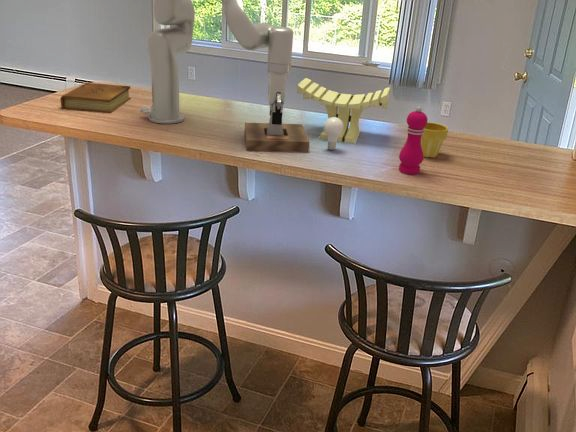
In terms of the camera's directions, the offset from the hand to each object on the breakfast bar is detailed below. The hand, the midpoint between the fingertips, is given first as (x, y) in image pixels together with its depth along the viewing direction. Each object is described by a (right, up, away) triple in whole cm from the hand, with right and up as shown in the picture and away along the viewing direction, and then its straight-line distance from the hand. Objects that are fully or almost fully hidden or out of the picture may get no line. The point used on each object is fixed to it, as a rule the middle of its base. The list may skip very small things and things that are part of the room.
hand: (275, 119), depth 190 cm
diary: (-70, +11, +33) cm, 78 cm away
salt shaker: (0, -7, +3) cm, 8 cm away
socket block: (0, -7, +3) cm, 8 cm away
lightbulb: (+18, -10, -1) cm, 21 cm away
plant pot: (+50, -12, +1) cm, 52 cm away
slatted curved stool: (+23, -3, +15) cm, 27 cm away
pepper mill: (+41, -18, -15) cm, 47 cm away
